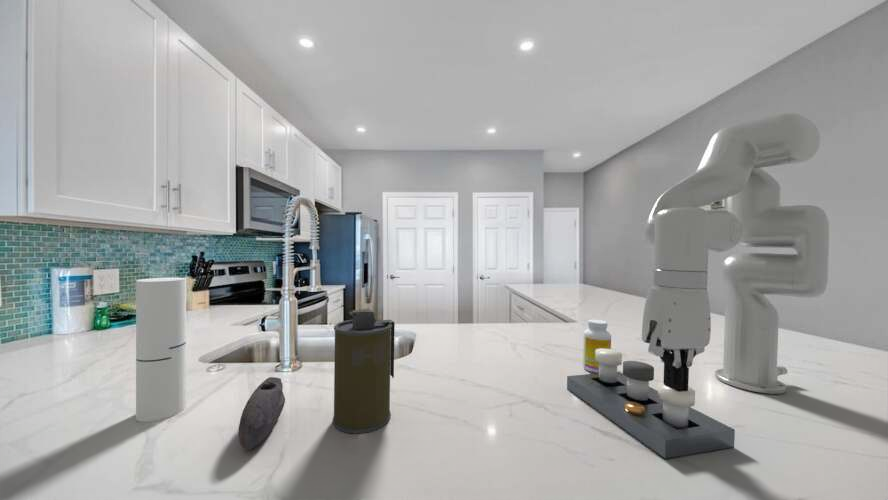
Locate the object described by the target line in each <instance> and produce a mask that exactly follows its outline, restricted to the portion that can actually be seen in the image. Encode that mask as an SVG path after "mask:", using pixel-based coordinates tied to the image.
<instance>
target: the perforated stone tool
mask: <svg viewBox="0 0 888 500" xmlns="http://www.w3.org/2000/svg"><path fill="white" fill-rule="evenodd" d="M285 403H286V398H285V394H284V392H283V382H282V379H281V378H280V377H272V376H269V377H267V378H266V379H265V380H264V381H262V382H261V383H260V384H259V385H258V386H257V387H256V388H255V389H254V391H253V392H252V394H251V395H250V396H249V398H248V400H247V402H246V404H245V406H244V409H243V410H242V412H241V416H240V420H239V424H238V440H239V444H240V445H241V448H243V449H244V450H247V451H248V450H251V449H253V448H255V447H257V446H258V445H259V444H260V443H262V441H264V439H265V438H266V437H267V436H268V435H269V433H270V432H271V430H272V429H273V427H274V426H275V424H276V422H277V421H278V420H279V418H280V416H281V414H282V411H283V410H284V406H285Z"/></svg>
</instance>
